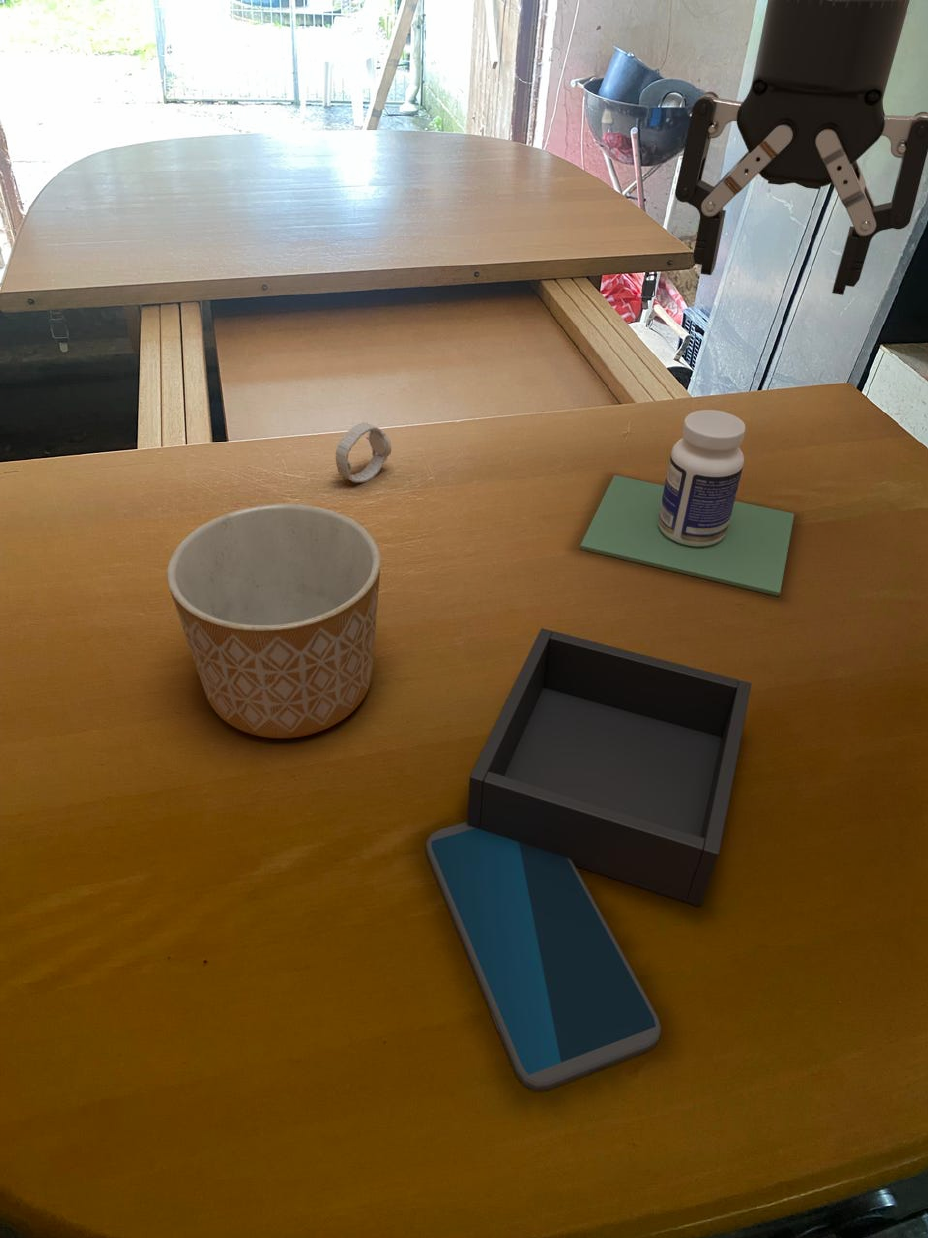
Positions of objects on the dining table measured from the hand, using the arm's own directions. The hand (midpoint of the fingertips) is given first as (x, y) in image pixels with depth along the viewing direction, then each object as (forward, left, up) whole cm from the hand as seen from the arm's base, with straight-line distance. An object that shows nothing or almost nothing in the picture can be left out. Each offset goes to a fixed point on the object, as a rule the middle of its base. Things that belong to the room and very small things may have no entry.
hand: (772, 280), depth 61 cm
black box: (+2, +27, -22) cm, 35 cm away
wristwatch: (+31, +1, -22) cm, 38 cm away
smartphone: (+3, +38, -23) cm, 45 cm away
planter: (+24, +27, -22) cm, 42 cm away
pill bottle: (+2, -2, -22) cm, 22 cm away
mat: (+2, -2, -22) cm, 22 cm away
